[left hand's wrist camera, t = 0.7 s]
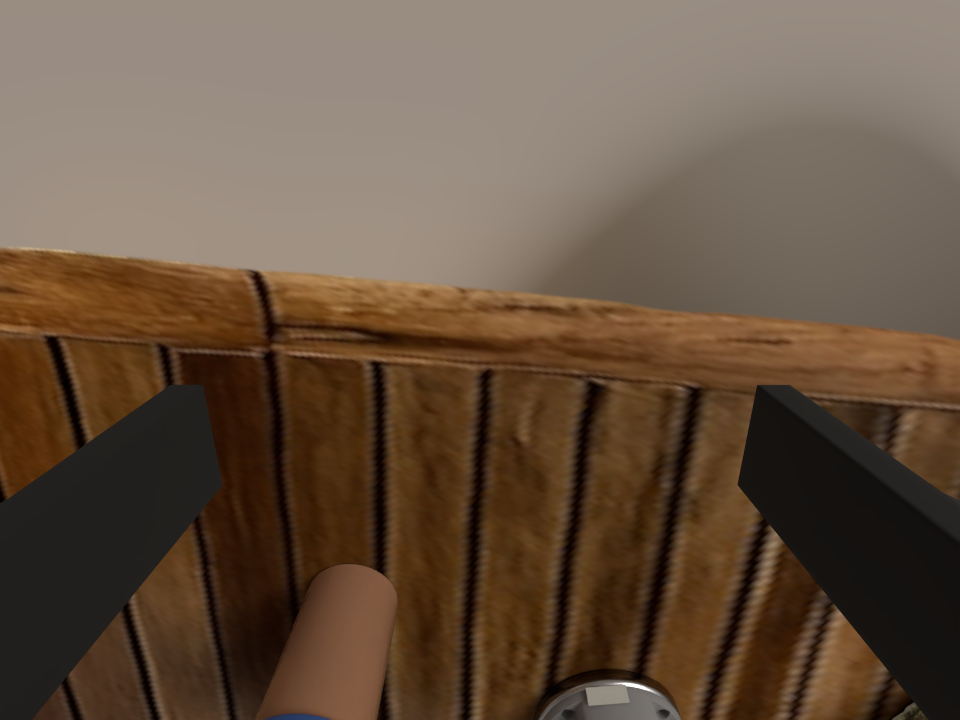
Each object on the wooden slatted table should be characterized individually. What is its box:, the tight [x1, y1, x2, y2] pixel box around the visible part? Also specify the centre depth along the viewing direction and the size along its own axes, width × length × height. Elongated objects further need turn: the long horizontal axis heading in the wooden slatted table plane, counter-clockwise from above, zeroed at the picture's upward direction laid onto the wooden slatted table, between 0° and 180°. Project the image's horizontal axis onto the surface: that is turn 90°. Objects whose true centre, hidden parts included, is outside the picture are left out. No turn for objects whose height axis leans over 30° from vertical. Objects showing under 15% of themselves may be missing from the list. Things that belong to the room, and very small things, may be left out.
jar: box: [255, 564, 398, 720], centre depth 43 cm, size 9×9×16 cm
